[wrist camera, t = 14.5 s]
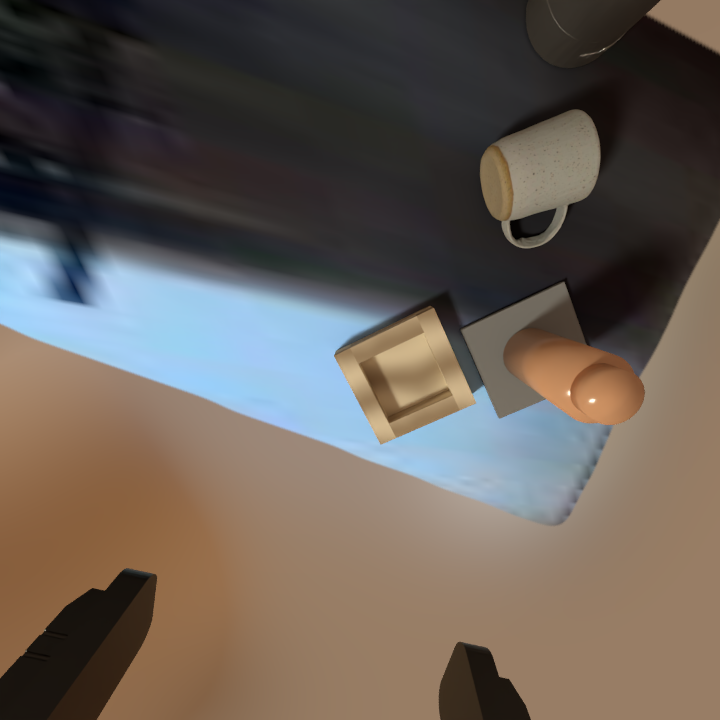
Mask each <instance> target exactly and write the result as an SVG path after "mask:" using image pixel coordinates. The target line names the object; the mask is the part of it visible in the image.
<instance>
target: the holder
mask: <svg viewBox="0 0 720 720" xmlns="http://www.w3.org/2000/svg"><path fill="white" fill-rule="evenodd" d="M334 357H335V359H336V361H337V362H338V364H339V366H340V368H341V370H342V372H343V374H344V376H345V378H346V380H347V381H348V383H349V385H350V387H351V389H352V391H353V393H354V395H355V397H356V399H357V400H358V402H359V404H360V406H361V408H362V410H363V412H364V414H365V416H366V418H367V419H368V421H369V423H370V425H371V427H372V429H373V431H374V433H375V435H376V437H377V438H378V440H379V442H380V444H383V443H386V442H388V441H390V440H392V439H395V438H397V437H399V436H402V435H404V434H406V433H409V432H411V431H413V430H415V429H418V428H420V427H422V426H425V425H427V424H429V423H432V422H434V421H436V420H438V419H441V418H443V417H445V416H448V415H450V414H452V413H455V412H457V411H459V410H461V409H464V408H466V407H468V406H471V405H473V404H475V403H476V402H475V399H474V397H473V395H472V393H471V390H470V388H469V386H468V384H467V381H466V379H465V377H464V375H463V372H462V370H461V368H460V366H459V363H458V361H457V359H456V357H455V354H454V352H453V350H452V348H451V345H450V343H449V341H448V339H447V336H446V334H445V332H444V330H443V327H442V325H441V323H440V321H439V318H438V316H437V314H436V312H435V309H434V308H433V307H432V306H428V307H426V308H424V309H422V310H420V311H418V312H416V313H413V314H411V315H409V316H407V317H405V318H403V319H401V320H399V321H397V322H395V323H393V324H391V325H389V326H387V327H385V328H382V329H380V330H378V331H376V332H374V333H372V334H370V335H368V336H366V337H364V338H362V339H360V340H358V341H356V342H354V343H351V344H349V345H347V346H345V347H343V348H341V349H339V350H337V351H336V352H335V355H334Z"/></svg>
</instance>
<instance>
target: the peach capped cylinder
mask: <svg viewBox="0 0 720 720" xmlns="http://www.w3.org/2000/svg"><path fill="white" fill-rule="evenodd" d="M503 360H504V364H505V367H506V368H507V370H508V371H509V372H510V373H511V374H512V375H514V376H515V377H516V378H518V379H519V380H521V381H522V382H523V383H525V384H526V385H528V386H529V387H530V388H532V389H533V390H534V391H536V392H537V393H539V394H540V395H541V396H543V397H544V398H546V399H547V400H548V401H550V402H551V403H553V404H554V405H555V406H557V407H558V408H560V409H561V410H562V411H564V412H565V413H567V414H568V415H569V416H571V417H572V418H574V419H575V420H578V421H580V422H584V423H601V424H605V425H615V424H619V423H622V422H624V421H626V420H628V419H630V418H631V417H632V416H633V415H634V414H635V413H636V412H637V411H638V410H639V409H640V407H641V405H642V403H643V400H644V394H645V392H644V391H645V390H644V386H643V383H642V381H641V380H640V379H639V377H637V376H636V375H635V374H634V372H633V370H632V368H631V366H630V365H629V364H628V363H627V362H626V361H625V360H624V359H622V358H621V357H619V356H616V355H613V354H611V353H608V352H605V351H602V350H599V349H596V348H593V347H590V346H588V345H585V344H582V343H579V342H576V341H573V340H570V339H568V338H565V337H562V336H559V335H556V334H553V333H550V332H547V331H545V330H542V329H538V328H528V329H524V330H521V331H519V332H517V333H516V334H514V335H513V336H512V337H511V338H510V339H509V341H508V342H507V344H506V346H505V348H504V352H503Z"/></svg>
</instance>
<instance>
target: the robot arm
mask: <svg viewBox="0 0 720 720" xmlns="http://www.w3.org/2000/svg"><path fill="white" fill-rule="evenodd" d="M659 1H660V0H528V3H527V9H526V26H527V32H528V36H529V39H530V42H531V44H532V46H533V47H534V49H535V51H536V52H537V53H538V54H539V55H540V56H541V58H542V59H544V60H545V61H547V62H548V63H550V64H551V65H554V66H557V67H561V68H575V67H580V66H583V65H586V64H588V63H590V62H592V61H594V60H595V59H597V58H598V57H600V56H601V55H602V54H603V53H604V52H605V51H607V50H608V49H609V48H610V47H611V46H613V45H614V44H615V43H616V42H617V41H618V40H619V39H620V38H621V37H622V36H623V35H624V34H625V33H626V32H627V31H628V30H629V29H630V28H631V27H632V26H633V25H635V24H636V23H637V22H638V21H639V20H640V19H641V18H642V17H643V16H644V15H645V14H646V13H647V12H649V11H650V10H651V9H652V8H653V7H654V6H655V5H656V4H657V3H658V2H659ZM156 582H157V576H156V574H152V573H147V572H142V571H138V570H133V569H129V568H126V569H124V570H123V571H122V572H121V573H120V574H119V575H118V576H117V577H116V579H115V580H114V581H113V582H112V583H111V584H110V585H109V587H108V588H107V589H106V590H105V591H103V590H99V589H94V588H92V589H90V590H89V591H87V592H86V593H85V594H83V595H82V596H80V597H79V598H77V599H76V600H74V601H73V602H71V603H70V604H68V605H67V606H66V607H65V608H64V609H63V610H62V611H61V612H60V613H59V614H58V616H57V617H56V618H55V619H54V620H53V621H52V622H51V623H50V624H49V625H48V626H47V628H46V629H45V630H44V633H43V634H42V635H39V636H38V637H37V639H36V640H35V641H34V642H33V643H32V644H31V645H30V646H29V647H28V649H27V650H26V651H25V654H24V655H23V656H20V657H19V658H18V659H17V661H16V662H15V663H14V664H13V665H12V666H11V667H10V668H9V669H8V670H7V672H6V673H5V674H4V675H3V676H2V677H1V678H0V720H97V718H98V716H99V715H100V713H101V712H102V710H103V708H104V707H105V705H106V703H107V702H108V700H109V699H110V697H111V695H112V694H113V692H114V690H115V689H116V687H117V685H118V684H119V682H120V680H121V679H122V677H123V676H124V674H125V672H126V671H127V669H128V667H129V666H130V664H131V662H132V661H133V659H134V658H135V656H136V654H137V652H138V651H139V649H140V648H141V646H142V644H143V642H144V640H145V638H146V635H147V633H148V631H149V628H150V625H151V621H152V617H153V608H154V600H155V591H156ZM439 712H440V719H441V720H531V719H530V716H529V714H528V711H527V708H526V705H525V704H524V702H523V701H522V699H521V698H520V696H519V694H518V693H517V691H516V689H515V688H514V686H513V685H512V683H511V682H510V680H509V679H505V678H501V677H499V675H498V672H497V669H496V666H495V662H494V659H493V656H492V654H491V652H490V651H489V649H488V648H485V647H481V646H477V645H471V644H467V643H463V642H458V643H457V644H456V646H455V648H454V651H453V653H452V656H451V658H450V661H449V663H448V666H447V668H446V670H445V673H444V675H443V678H442V680H441V684H440V689H439Z"/></svg>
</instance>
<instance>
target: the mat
mask: <svg viewBox="0 0 720 720" xmlns="http://www.w3.org/2000/svg"><path fill="white" fill-rule="evenodd" d="M528 328H538V329H542V330H545V331H547V332H550V333H553V334H556V335H559V336H562V337H565V338H568V339H570V340H573V341H576V342H579V343H582V344H585V345H586V342H585V339H584V336H583V333H582V331H581V328H580V325H579V322H578V319H577V316H576V313H575V311H574V308H573V305H572V302H571V299H570V296H569V294H568V291H567V288H566V285H565V282H560V283H558V284H556V285H553V286H551V287H549V288H547V289H545V290H543V291H541V292H538V293H536V294H534V295H532V296H530V297H528V298H526V299H523V300H521V301H519V302H517V303H515V304H513V305H511V306H509V307H506V308H504V309H502V310H500V311H498V312H496V313H494V314H491V315H489V316H487V317H485V318H483V319H481V320H479V321H476V322H474V323H472V324H470V325H468V326H466V327H464V328H462V329H460V330H461V333H462V335H463V337H464V340H465V342H466V344H467V347H468V349H469V351H470V353H471V356H472V358H473V360H474V363H475V365H476V367H477V370H478V372H479V374H480V377H481V379H482V381H483V383H484V386H485V388H486V390H487V393H488V395H489V397H490V400H491V402H492V404H493V407H494V409H495V411H496V413H497V416H498V417H499V418H502V417H505V416H507V415H509V414H512V413H514V412H516V411H519V410H521V409H523V408H526V407H528V406H531V405H533V404H535V403H538V402H540V401H542V400H545V399H546V398H544V397H543V396H541V395H540V394H539V393H537V392H536V391H534V390H533V389H532V388H530V387H529V386H528V385H526V384H525V383H523V382H522V381H521V380H519V379H518V378H516V377H515V376H514V375H512V374H511V373H510V372H509V371H508V370H507V368H506V367H505V364H504V360H503V352H504V348H505V346H506V344H507V342H508V341H509V339H510V338H511V337H512V336H513V335H514V334H516V333H517V332H519V331H521V330H524V329H528Z"/></svg>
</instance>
